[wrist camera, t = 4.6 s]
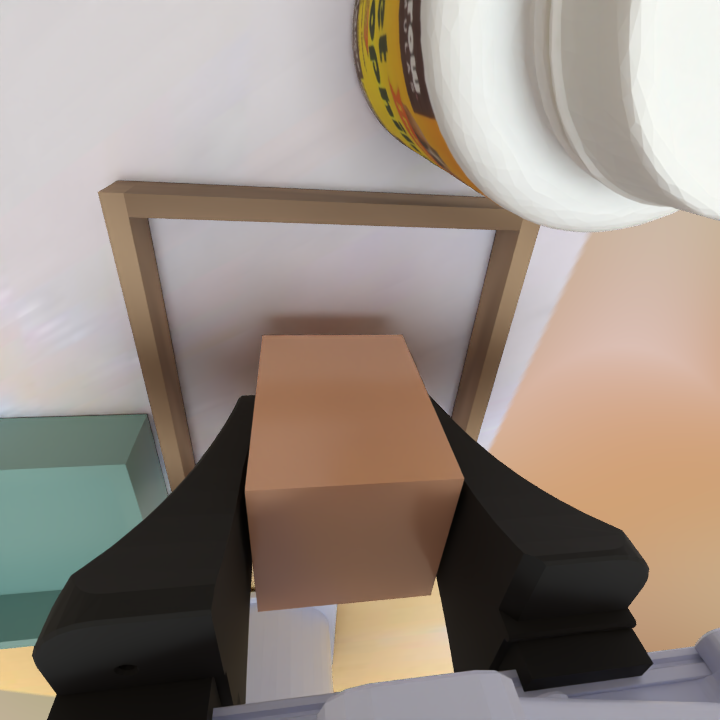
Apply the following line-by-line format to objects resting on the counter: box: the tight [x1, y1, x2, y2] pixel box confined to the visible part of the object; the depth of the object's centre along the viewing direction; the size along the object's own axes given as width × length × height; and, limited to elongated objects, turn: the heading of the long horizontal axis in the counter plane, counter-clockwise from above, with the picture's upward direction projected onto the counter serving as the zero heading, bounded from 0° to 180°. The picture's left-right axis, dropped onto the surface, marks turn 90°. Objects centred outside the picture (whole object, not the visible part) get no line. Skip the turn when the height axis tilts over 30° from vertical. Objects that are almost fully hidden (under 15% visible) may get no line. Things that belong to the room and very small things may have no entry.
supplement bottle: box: [352, 0, 720, 232], centre depth 7 cm, size 6×6×10 cm
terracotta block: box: [245, 335, 464, 612], centre depth 12 cm, size 4×4×6 cm
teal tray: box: [0, 414, 168, 649], centre depth 18 cm, size 11×11×3 cm
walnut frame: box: [98, 181, 540, 492], centre depth 16 cm, size 12×12×2 cm
